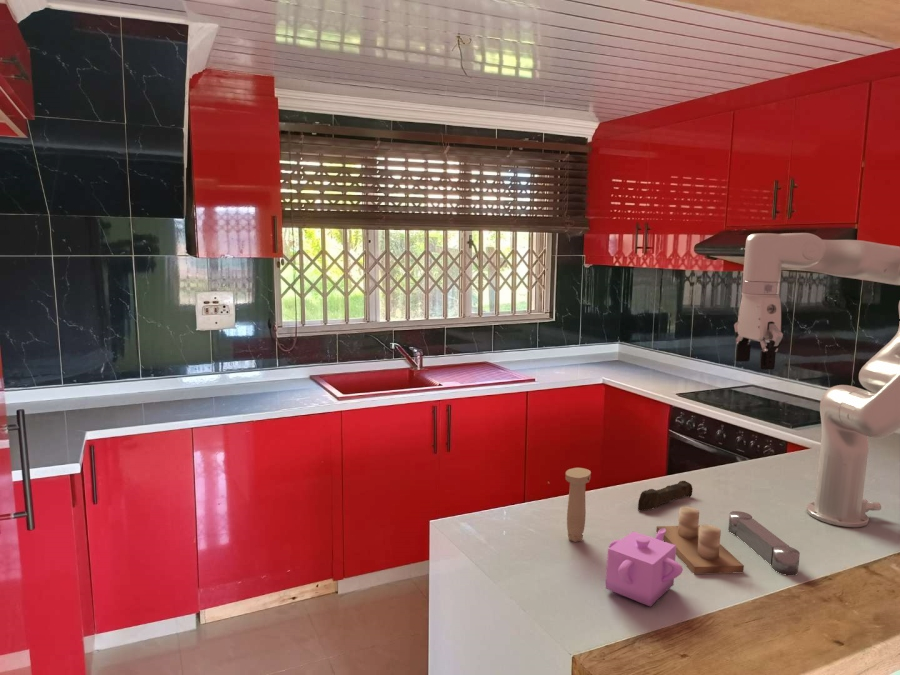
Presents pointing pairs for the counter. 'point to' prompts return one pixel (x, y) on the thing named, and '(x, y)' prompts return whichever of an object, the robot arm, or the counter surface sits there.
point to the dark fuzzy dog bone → (663, 495)
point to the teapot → (642, 567)
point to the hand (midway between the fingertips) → (754, 365)
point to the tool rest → (699, 545)
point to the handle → (576, 502)
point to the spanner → (764, 543)
